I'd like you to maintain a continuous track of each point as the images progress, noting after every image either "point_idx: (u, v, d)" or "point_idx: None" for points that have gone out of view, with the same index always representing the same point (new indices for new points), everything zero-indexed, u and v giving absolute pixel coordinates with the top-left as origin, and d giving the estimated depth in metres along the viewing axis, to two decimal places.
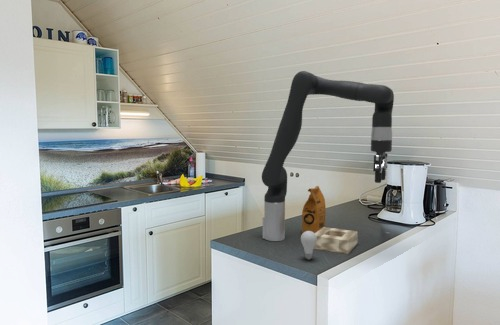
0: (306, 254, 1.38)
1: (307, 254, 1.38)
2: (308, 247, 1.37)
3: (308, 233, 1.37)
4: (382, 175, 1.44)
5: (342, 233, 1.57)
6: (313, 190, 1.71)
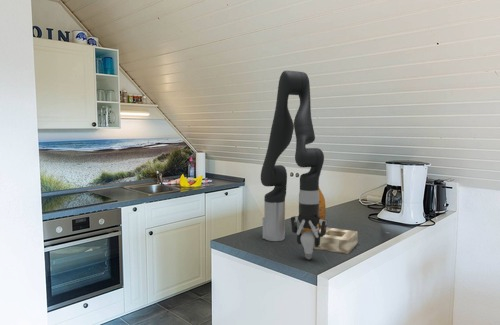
0: (306, 254, 1.38)
1: (307, 254, 1.38)
2: (308, 247, 1.37)
3: (308, 233, 1.37)
4: None
5: (342, 233, 1.57)
6: None
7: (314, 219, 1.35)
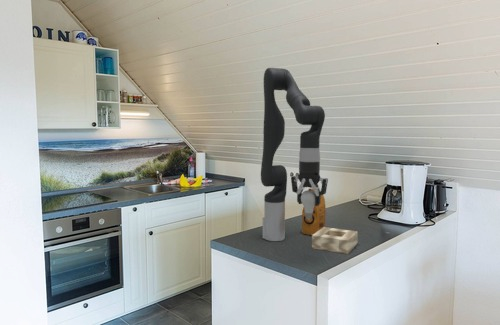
0: (306, 213, 1.37)
1: (307, 214, 1.37)
2: (308, 206, 1.35)
3: (308, 192, 1.35)
4: None
5: (342, 233, 1.57)
6: (313, 190, 1.71)
7: (314, 177, 1.34)
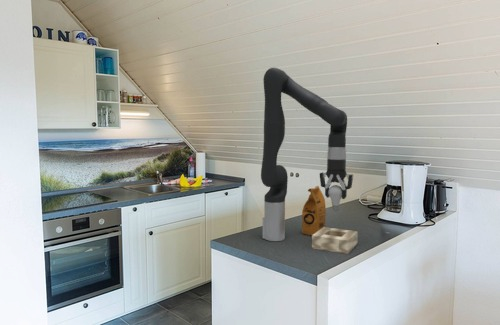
0: (333, 206, 1.53)
1: (334, 206, 1.53)
2: (335, 199, 1.51)
3: (335, 186, 1.52)
4: None
5: (342, 233, 1.57)
6: (313, 190, 1.71)
7: (341, 173, 1.50)
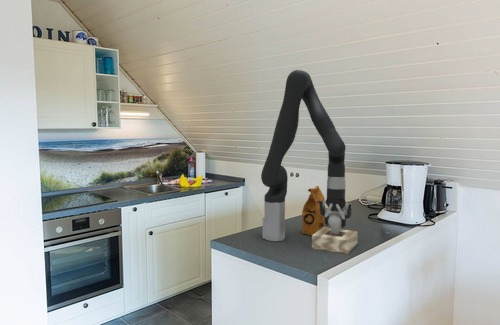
0: (333, 234, 1.54)
1: (334, 235, 1.54)
2: (335, 228, 1.52)
3: (335, 215, 1.52)
4: None
5: (342, 233, 1.57)
6: (313, 190, 1.71)
7: (341, 203, 1.51)
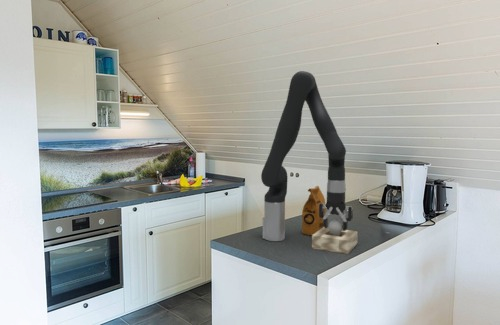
0: None
1: None
2: (335, 233, 1.53)
3: (335, 221, 1.53)
4: (327, 223, 1.56)
5: (342, 233, 1.57)
6: (313, 190, 1.71)
7: (341, 206, 1.51)
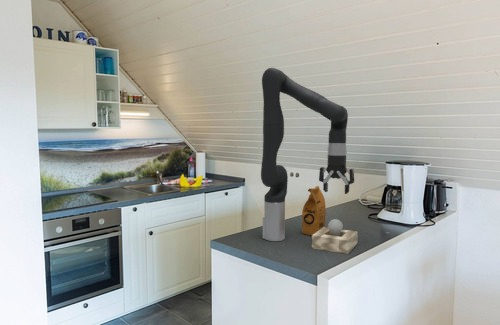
0: None
1: None
2: (335, 233, 1.53)
3: (335, 221, 1.53)
4: (327, 187, 1.55)
5: (342, 233, 1.57)
6: (313, 190, 1.71)
7: (342, 169, 1.50)
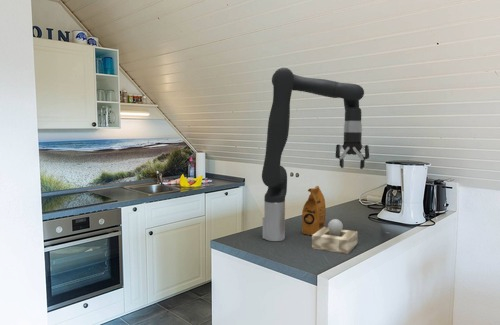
0: None
1: None
2: (335, 233, 1.53)
3: (335, 221, 1.53)
4: (343, 163, 1.64)
5: (342, 233, 1.57)
6: (313, 190, 1.71)
7: (357, 146, 1.59)
